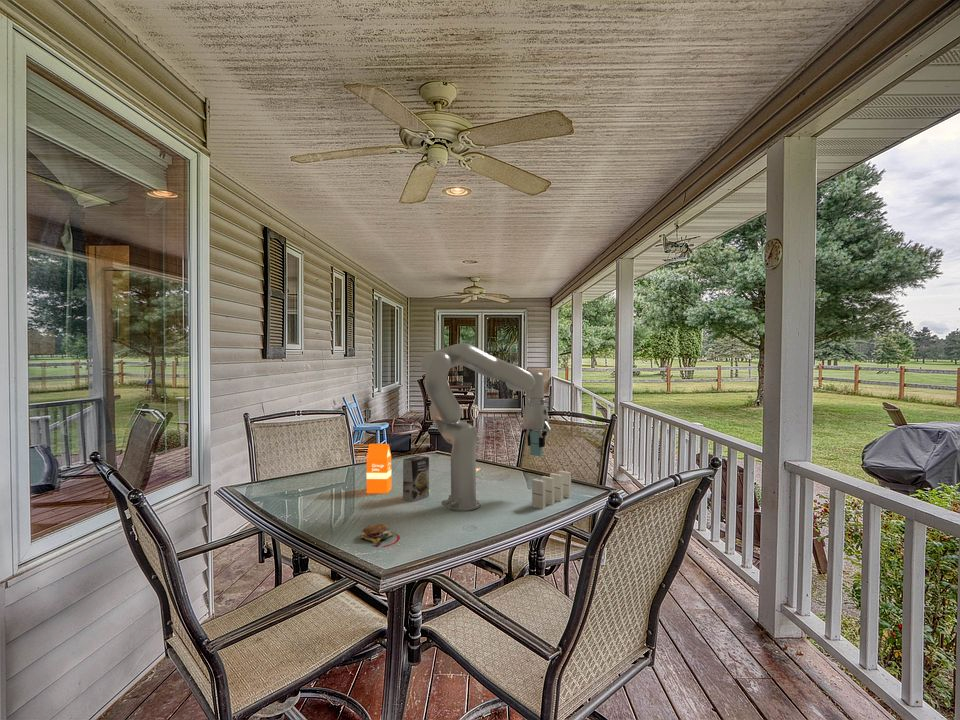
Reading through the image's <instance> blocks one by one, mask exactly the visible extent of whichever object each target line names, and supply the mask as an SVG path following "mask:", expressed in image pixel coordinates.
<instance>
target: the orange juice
mask: <svg viewBox="0 0 960 720" xmlns="http://www.w3.org/2000/svg"><path fill="white" fill-rule="evenodd" d="M391 489H392V454H391V449H390V444H389V443H369V444H368V449H367V455H366V494H388V493H389V492H390V491H391Z"/></svg>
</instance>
